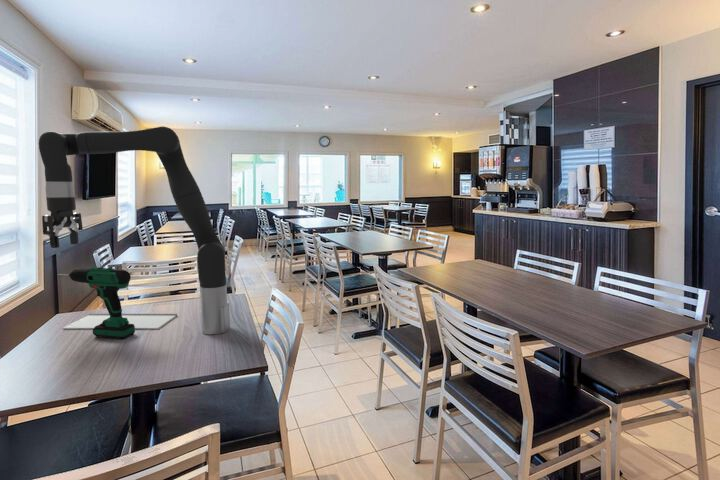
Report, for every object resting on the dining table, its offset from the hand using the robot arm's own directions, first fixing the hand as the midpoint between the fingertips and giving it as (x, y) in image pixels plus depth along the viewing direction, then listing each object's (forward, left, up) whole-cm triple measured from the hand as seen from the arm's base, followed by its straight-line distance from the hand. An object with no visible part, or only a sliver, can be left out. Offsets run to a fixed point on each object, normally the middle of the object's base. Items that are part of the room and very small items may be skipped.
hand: (65, 245), depth 135 cm
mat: (-2, -24, -34) cm, 41 cm away
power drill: (0, -11, -34) cm, 36 cm away
